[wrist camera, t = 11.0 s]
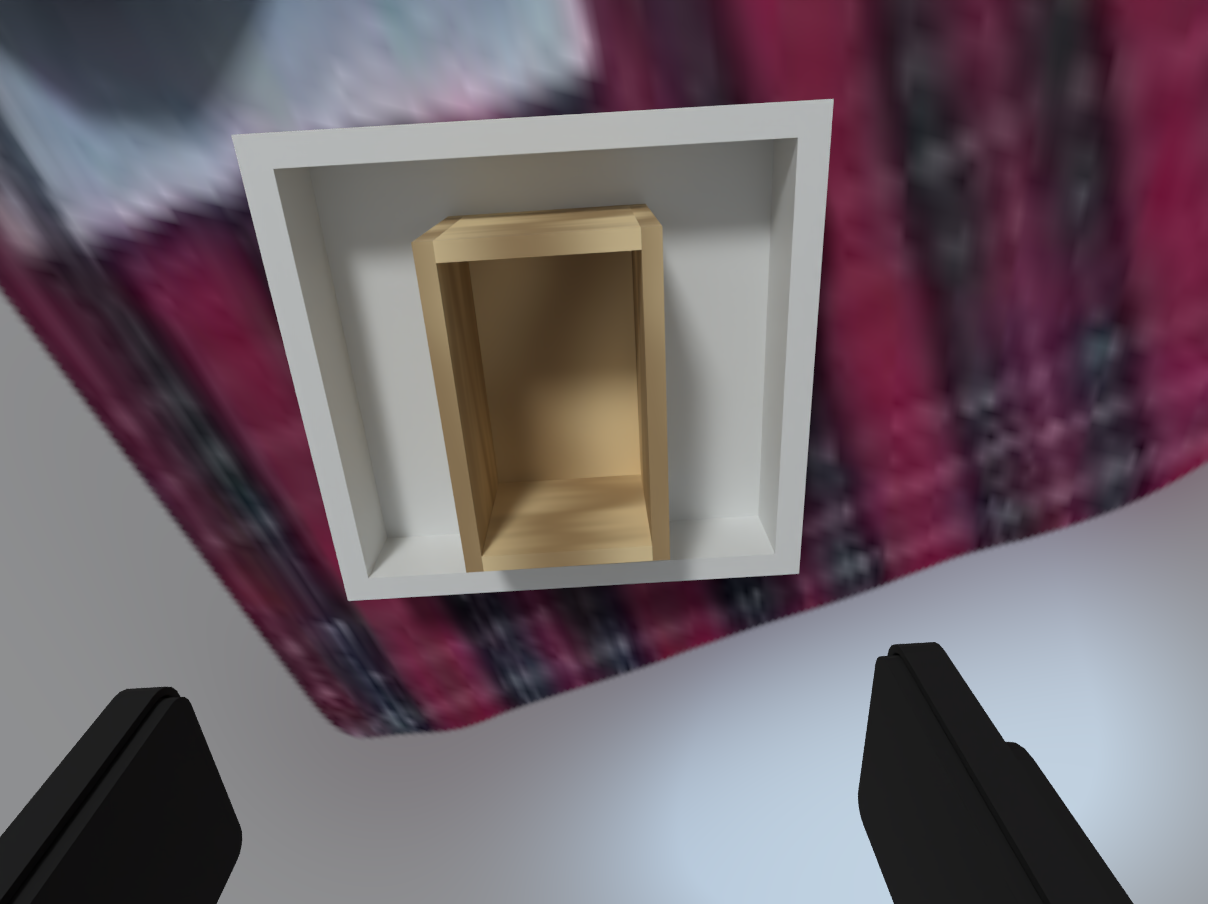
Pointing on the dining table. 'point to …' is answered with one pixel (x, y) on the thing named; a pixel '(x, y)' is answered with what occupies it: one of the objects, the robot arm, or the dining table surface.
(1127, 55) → the dining table surface
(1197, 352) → the dining table surface
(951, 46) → the dining table surface
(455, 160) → the white tray
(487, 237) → the pine crate
